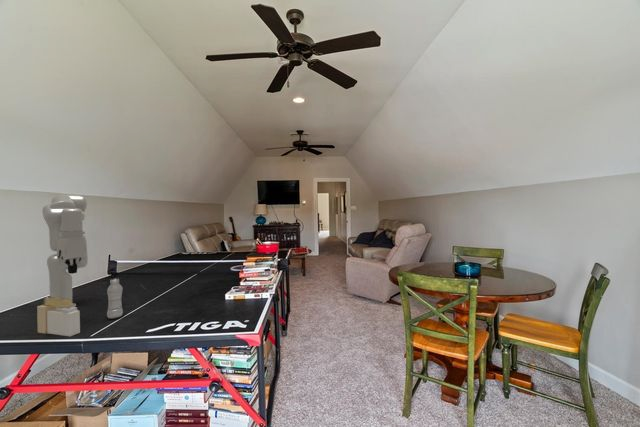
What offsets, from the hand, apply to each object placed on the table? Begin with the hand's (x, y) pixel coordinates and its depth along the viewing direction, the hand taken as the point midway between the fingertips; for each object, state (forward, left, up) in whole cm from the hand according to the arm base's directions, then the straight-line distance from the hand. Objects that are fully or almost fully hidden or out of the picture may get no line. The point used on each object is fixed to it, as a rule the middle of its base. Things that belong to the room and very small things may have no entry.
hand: (72, 272), depth 133 cm
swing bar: (0, -6, -14) cm, 15 cm away
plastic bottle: (+8, +14, -26) cm, 31 cm away
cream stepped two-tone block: (0, -6, -26) cm, 27 cm away
